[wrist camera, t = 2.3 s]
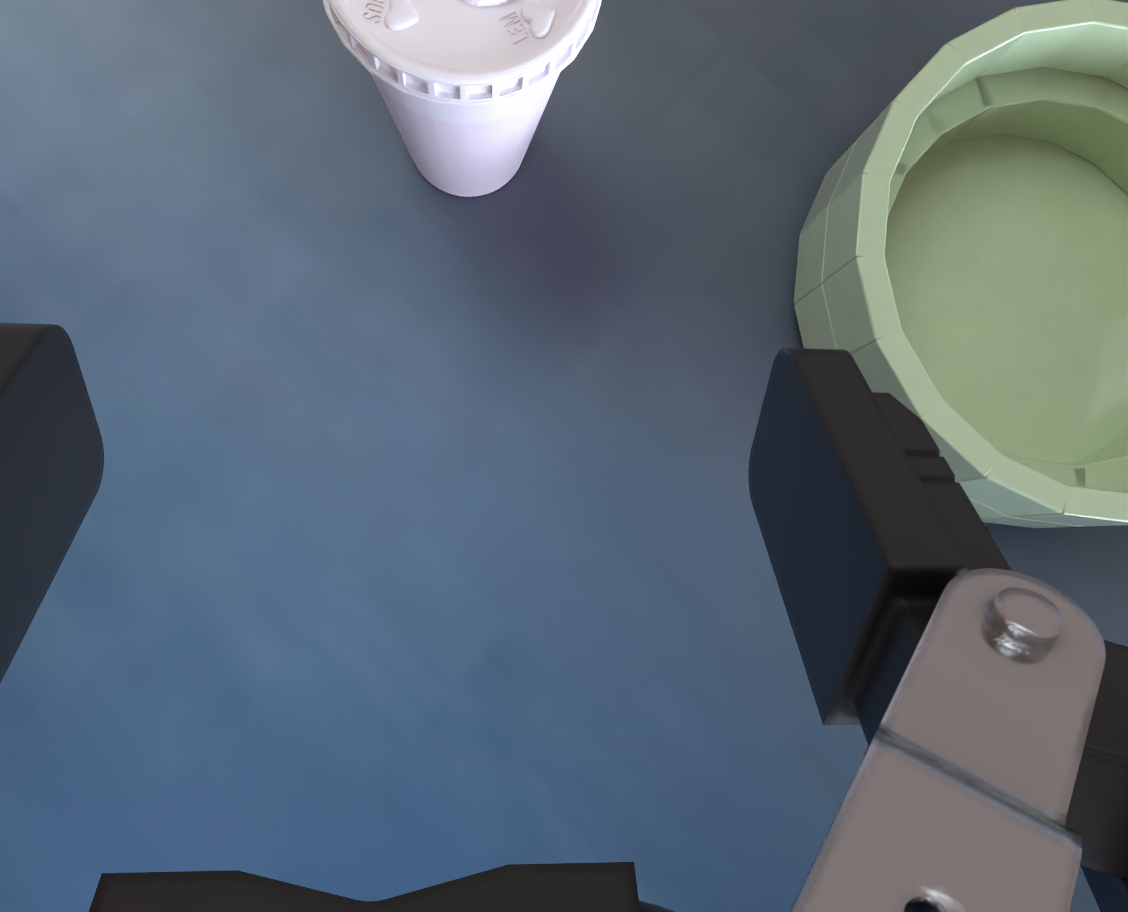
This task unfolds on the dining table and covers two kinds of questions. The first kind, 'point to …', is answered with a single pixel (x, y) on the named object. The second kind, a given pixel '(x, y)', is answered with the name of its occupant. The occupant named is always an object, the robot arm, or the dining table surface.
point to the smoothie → (465, 76)
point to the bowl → (994, 261)
